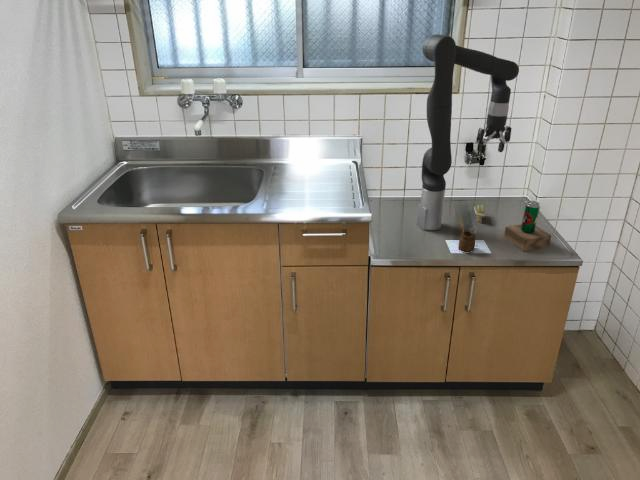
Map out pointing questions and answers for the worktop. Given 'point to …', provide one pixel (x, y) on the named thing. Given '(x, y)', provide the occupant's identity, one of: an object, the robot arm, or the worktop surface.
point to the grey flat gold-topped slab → (479, 212)
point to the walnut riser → (527, 238)
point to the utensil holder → (466, 240)
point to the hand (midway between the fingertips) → (491, 152)
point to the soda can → (530, 216)
